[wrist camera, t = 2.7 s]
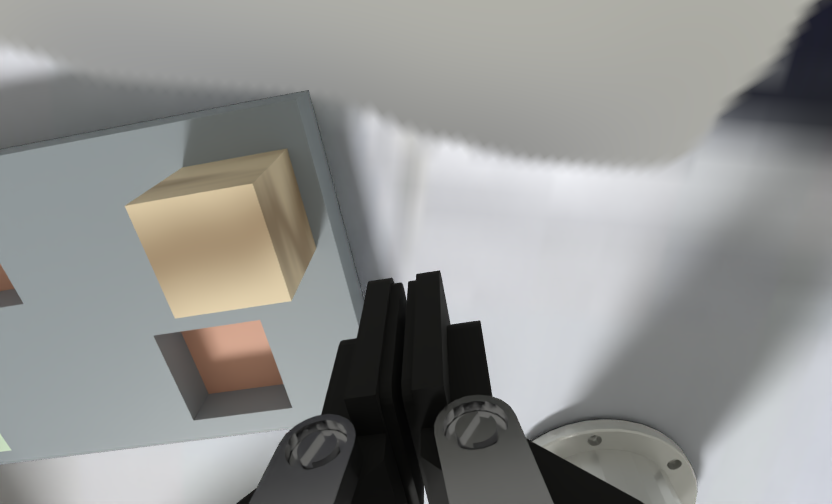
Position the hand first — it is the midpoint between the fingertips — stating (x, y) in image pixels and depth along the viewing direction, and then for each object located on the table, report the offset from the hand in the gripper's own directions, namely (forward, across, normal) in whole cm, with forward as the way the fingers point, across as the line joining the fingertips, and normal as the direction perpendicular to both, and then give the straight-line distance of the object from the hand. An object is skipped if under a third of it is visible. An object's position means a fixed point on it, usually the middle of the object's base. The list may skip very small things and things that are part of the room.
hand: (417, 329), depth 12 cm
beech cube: (+13, +8, +1) cm, 15 cm away
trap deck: (+15, +19, +5) cm, 25 cm away
